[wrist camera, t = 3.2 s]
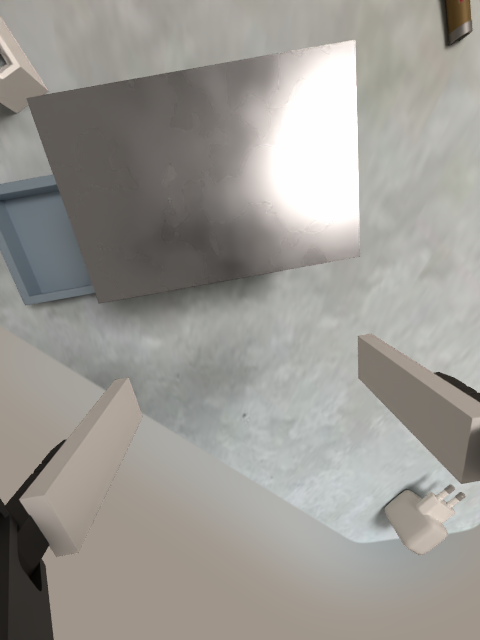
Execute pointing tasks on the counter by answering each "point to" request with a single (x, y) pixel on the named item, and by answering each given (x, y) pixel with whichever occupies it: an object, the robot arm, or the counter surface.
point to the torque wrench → (458, 19)
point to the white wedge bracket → (16, 74)
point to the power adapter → (421, 518)
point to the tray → (40, 242)
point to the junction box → (209, 170)
